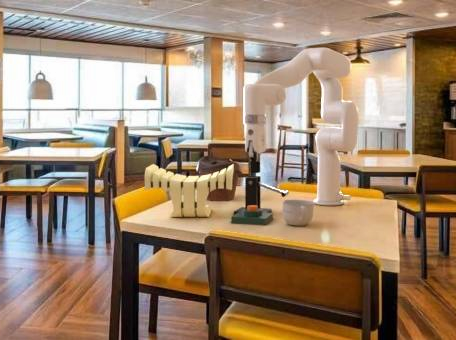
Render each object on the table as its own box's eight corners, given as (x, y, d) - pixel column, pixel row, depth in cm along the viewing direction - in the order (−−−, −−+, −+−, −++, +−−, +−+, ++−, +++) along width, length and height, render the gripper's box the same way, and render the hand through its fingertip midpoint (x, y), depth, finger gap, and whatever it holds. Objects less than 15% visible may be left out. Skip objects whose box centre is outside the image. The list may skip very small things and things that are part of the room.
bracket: (271, 211, 205) (271, 175, 203) (264, 216, 196) (265, 179, 194) (241, 210, 207) (241, 174, 206) (233, 214, 198) (233, 177, 197)
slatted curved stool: (145, 219, 189) (144, 168, 187) (154, 210, 204) (153, 163, 202) (231, 218, 192) (231, 169, 189) (233, 209, 207) (233, 163, 205)
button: (258, 210, 189) (259, 205, 189) (255, 212, 186) (255, 207, 185) (249, 209, 190) (249, 204, 190) (245, 211, 186) (245, 206, 186)
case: (240, 202, 223) (240, 159, 220) (192, 201, 223) (191, 158, 221) (246, 195, 240) (246, 155, 238) (201, 194, 240) (201, 154, 238)
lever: (287, 196, 201) (289, 190, 200) (284, 198, 196) (286, 192, 195) (250, 182, 203) (252, 176, 203) (246, 184, 198) (248, 178, 198)
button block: (272, 219, 192) (272, 208, 191) (264, 225, 182) (264, 213, 182) (240, 217, 194) (240, 206, 194) (231, 223, 185) (231, 211, 184)
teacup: (281, 220, 189) (282, 198, 188) (312, 220, 190) (312, 198, 189) (283, 230, 176) (283, 205, 175) (316, 229, 177) (316, 205, 176)
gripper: (258, 121, 178) (259, 176, 180) (271, 119, 192) (271, 170, 195) (237, 120, 179) (238, 175, 182) (251, 119, 194) (251, 169, 196)
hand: (255, 172), depth 188 cm, fingers closed
